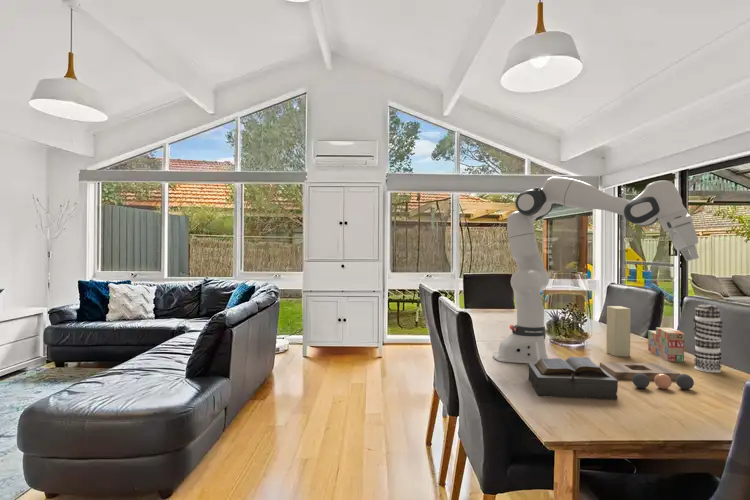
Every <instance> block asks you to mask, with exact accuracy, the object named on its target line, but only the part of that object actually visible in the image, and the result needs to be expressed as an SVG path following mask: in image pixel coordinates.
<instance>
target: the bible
mask: <svg viewBox="0 0 750 500" xmlns="http://www.w3.org/2000/svg"><path fill="white" fill-rule="evenodd" d="M527 365H528V381H529V383H530V382H531V383H530V384H532V385H531V386H532V388H533V390H534V389H535V390H534V392H535V391H536V392H535V393H537V394H536V395H537V397H543V396H547V398H548V397H549V396H552V397H551V398H569V399H570V398H571V399H592V400H608V401H609V400H615V401H616V400H618V395H617V393H618V391H619V390H618V389H619V388H618V387H619V385H618V383H619V379H615V378H614V377H613V376H611V375H610V374H609V373H607V372H606V371H605V370H604V369H602V368H601V367H600V365H597V364H595V362H593V360H592V359H591V358H590V357H587V356H569V357H567V359H565V360H564V359H562V358H559V357H558V358H557V357H554V358H548V359H543V358H541V359H540V360H539V361H538V362H537V363H527Z"/></svg>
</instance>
